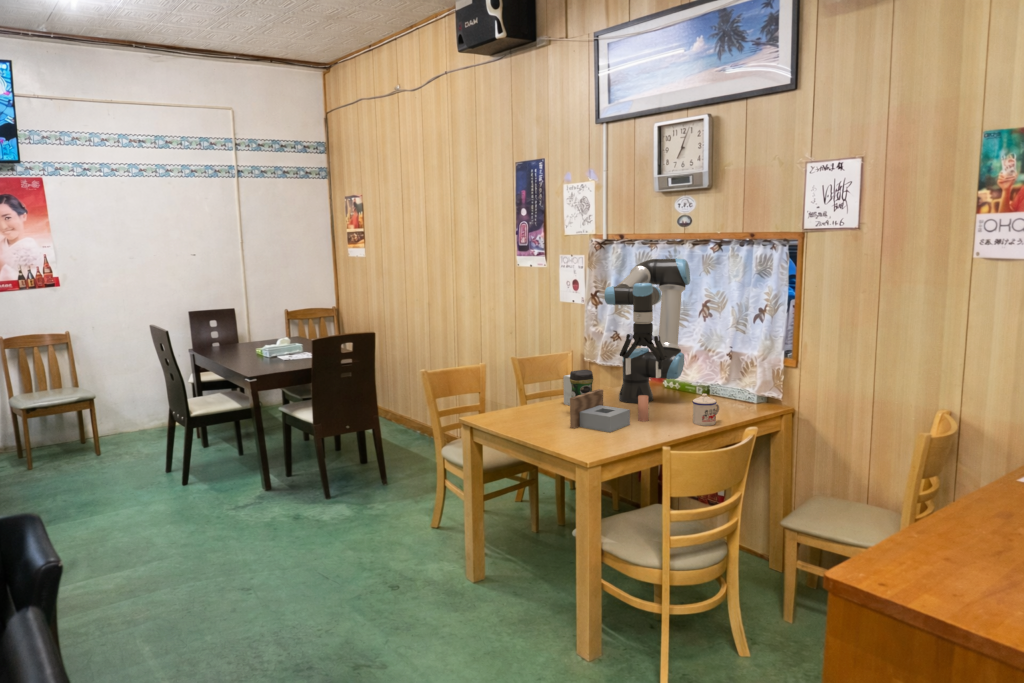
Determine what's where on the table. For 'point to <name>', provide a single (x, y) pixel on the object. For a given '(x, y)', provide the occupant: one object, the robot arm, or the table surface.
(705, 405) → the teacup with lid
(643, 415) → the dowel
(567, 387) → the small box
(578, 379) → the coffee jar
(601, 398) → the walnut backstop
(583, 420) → the socket block
